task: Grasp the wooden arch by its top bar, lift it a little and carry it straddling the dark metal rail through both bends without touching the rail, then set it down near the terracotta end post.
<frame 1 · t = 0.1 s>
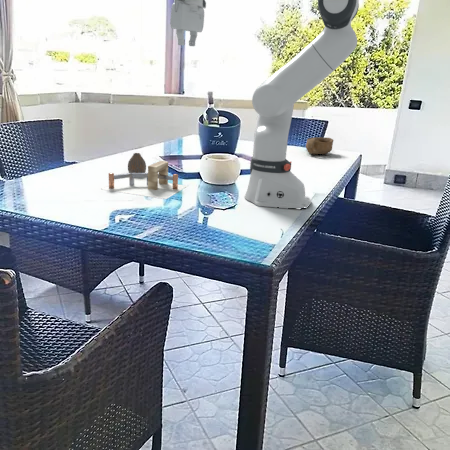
hand: (186, 45, 160), 48 cm above the table, fingers open, 8 cm apart
board: (175, 190, 171), on the table
bowl: (317, 154, 252), on the table
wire: (143, 181, 168), on the board, point 3 cm above the table
wooden arch: (158, 186, 172), point 1 cm above the table, touching board
vase: (136, 176, 188), on the table
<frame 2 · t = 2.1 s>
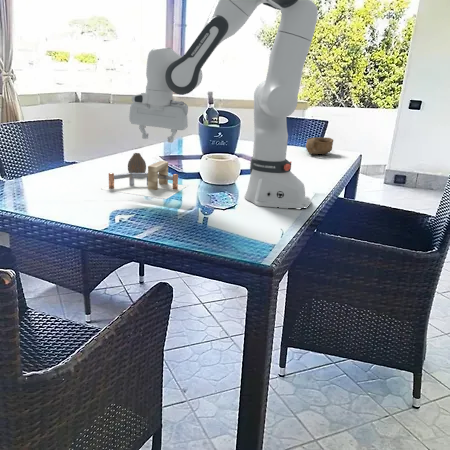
hand: (157, 140, 167), 17 cm above the table, fingers open, 8 cm apart
nothing on the table moved.
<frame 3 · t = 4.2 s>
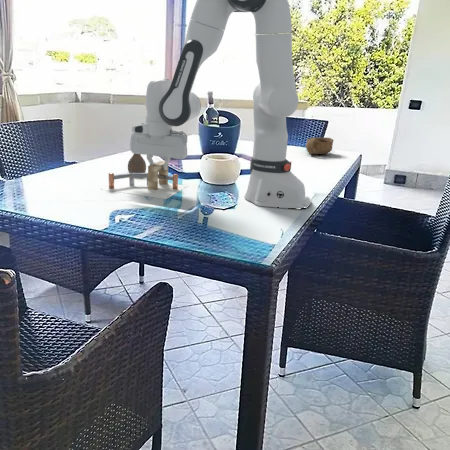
hand: (158, 168, 170), 7 cm above the table, fingers closed on wooden arch, 3 cm apart
wooden arch: (158, 186, 172), point 1 cm above the table, touching board, gripper
everything else where it was.
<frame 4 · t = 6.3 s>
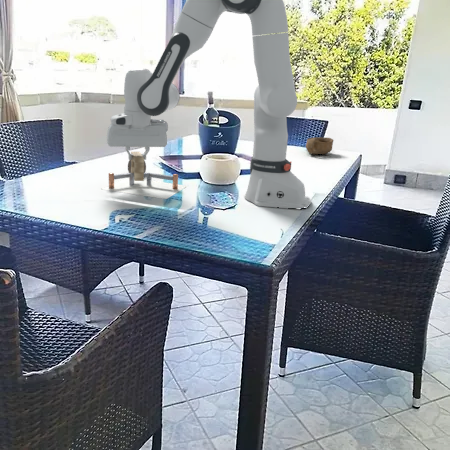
hand: (137, 159, 169), 10 cm above the table, fingers closed on wooden arch, 3 cm apart
wooden arch: (137, 177, 171), point 4 cm above the table, touching gripper
everything else where it was.
when the fingers open (8 cm above the table, at t = 8.8 s): wooden arch stays where it is, resting on board.
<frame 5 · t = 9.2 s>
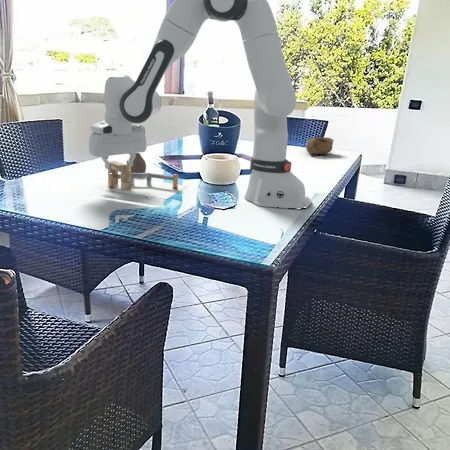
hand: (119, 167, 167), 8 cm above the table, fingers open, 7 cm apart
wooden arch: (119, 186, 169), point 1 cm above the table, touching board
everything else where it was.
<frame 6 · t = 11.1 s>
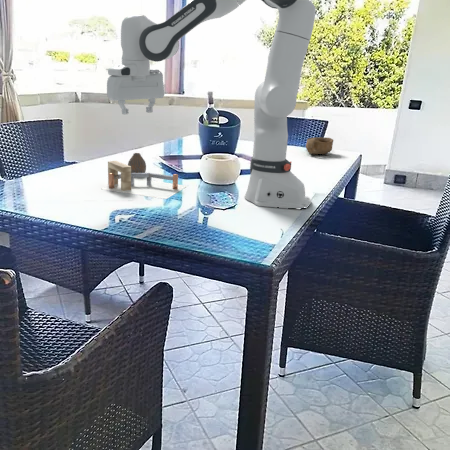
hand: (137, 113, 163), 26 cm above the table, fingers open, 8 cm apart
nothing on the table moved.
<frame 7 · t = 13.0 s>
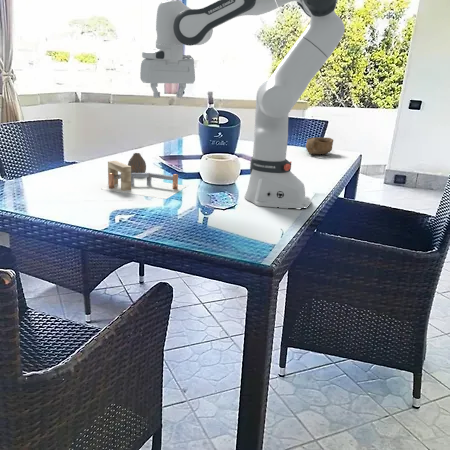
hand: (168, 97, 166), 31 cm above the table, fingers open, 8 cm apart
nothing on the table moved.
at the end: wooden arch 0.1 cm from the target spot, point 0.8 cm above the table; wooden arch tilted 0°; wooden arch touching board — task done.
